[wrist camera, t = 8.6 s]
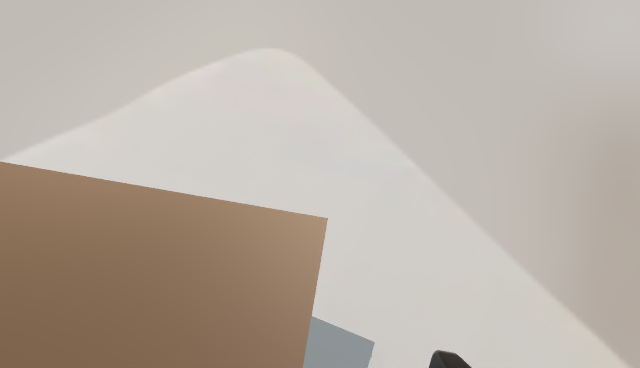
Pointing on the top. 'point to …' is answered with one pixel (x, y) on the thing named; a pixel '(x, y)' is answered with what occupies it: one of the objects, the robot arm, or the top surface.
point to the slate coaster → (335, 347)
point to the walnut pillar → (149, 276)
